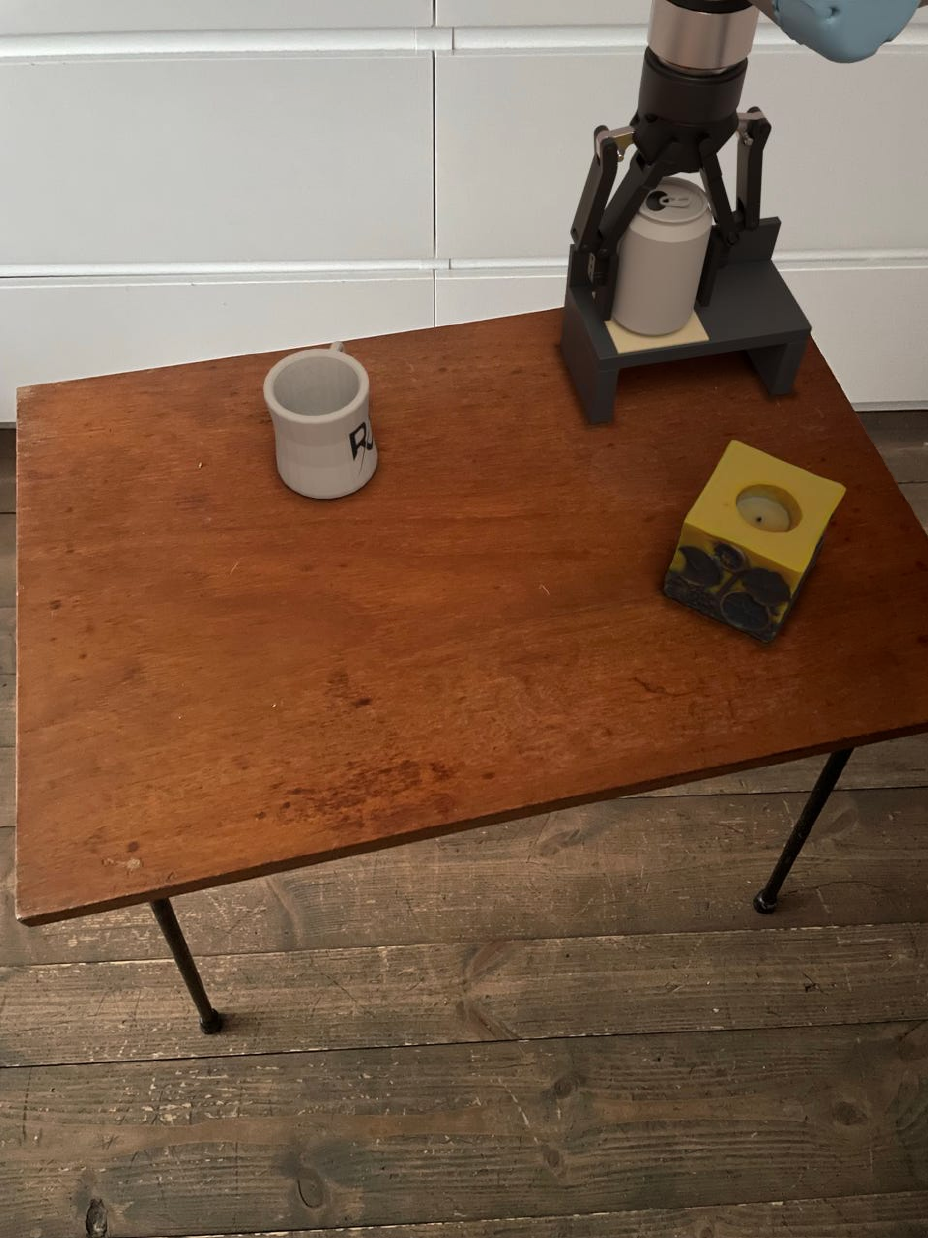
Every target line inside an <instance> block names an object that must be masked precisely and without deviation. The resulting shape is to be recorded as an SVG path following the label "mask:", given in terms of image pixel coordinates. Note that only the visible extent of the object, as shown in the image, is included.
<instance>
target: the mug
mask: <svg viewBox="0 0 928 1238" xmlns="http://www.w3.org/2000/svg"><path fill="white" fill-rule="evenodd" d="M345 347H346V346H345V344H344V343H343V342H342V341H340V340H335V341H333V342H332V343H331V345H330V347H329V348H313V349H304V350H301V351H300V350H299V351H297V352H294V353H291V354H288V355H287V356H286V357H284V358H282V359H280V360H279V361H278V362H276V364H275V365H274V366H272V367H271V368H270V369H269V371H268V373H267V375H266V376H265V378H264V381H263V384H262V385H263V386H262V392H263V399H264V402H265V404H266V407H267V410H268V413H269V415H270V419H271V421H272V424H273V429H274V435H275V457H276V466H277V472H278V474H279V476H280V477H281V479H282V481H283V482H284V483H283V484H285V485H286V486H288V488H290V489H291V490H292V491H293V492H296V493H297V494H299V495H301V496H304V497H308V498H313V499H318V500H319V499H320V500H323V499H324V500H331V499H336V498H342V497H344V496H347V495H350V494H352V493H355V492H356V491H358V490H360V489H361V488H362V487H364V486H365V485H366V484H367V483H368V482H369V481H370V479H372V477H373V475H374V473H375V471H376V469H377V463H378V456H379V455H378V451H377V447H376V442H375V438H374V437H375V436H374V434H373V430H372V424H371V417H370V410H369V407H370V388H371V387H370V385H371V382H370V379H369V375H368V374H369V373H368V372H367V370H366V369H365V367H364V365H363V364H362V363H361V362H360V361H358V360H357V359H356V358H355V357H353V356H351V355H349V354H347V353H346V348H345Z"/></svg>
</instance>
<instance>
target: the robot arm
mask: <svg viewBox="0 0 928 1238" xmlns="http://www.w3.org/2000/svg"><path fill="white" fill-rule="evenodd" d="M650 6H651V8H650V13H649V20H648V28H647V33H646V42H647V46H646V47H645V50H644V53H643V59H642V60H643V62H642V66H641V75H640V80H639V81H640V82H639V88H638V97H637V107H636V111H635V113H634V115H633V117H631V120H630V121H629V124H628V125H627V126H623V127H622V126H621V127H619V128H614V129H611V130H610V129H609V128H608V126H607V125H605V124H600V125H598V126H597V127H596V128H594V131H593V157H592V160H591V163H590V167H589V168H588V169H589V170H588V173H587V175H586V179H585V182H584V186H583V189H582V192H581V195H580V198H579V202H578V205H577V208H576V211H575V214H574V218H573V221H572V223H571V224H572V225H571V228H570V231H569V234H570V237H571V239H572V241H573V244H575V246H576V248H577V250H578V252H579V254H581V255H586V254H588V253H590V258H589V267H588V275H589V277H590V279H591V282H592V284H593V286H594V287H596V289H595V297H594V304H595V306H596V308H597V311H598V313H599V315H600V317H601V320H602V322H603V321H610V320H611V314H612V307H613V300H614V293H615V286H616V279H617V272H618V265H619V259H620V258H619V256H618V254H617V252H616V250H615V247H616V245H617V243H618V242H619V240H620V239H621V237H622V235H623V234H624V232H625V231H626V229H627V227H628V226H629V224H630V223H631V221H632V219H633V218H634V216H635V215H636V213H637V211H638V210H639V208H640V206H641V205H642V203H643V202H644V200H645V198H646V197H647V195H648V194H649V192H650V191H651V190H655V189H656V188H657V186H658V184H659V183H660V181H661V180H662V178H663V177H667V176H669V177H673V176H675V175H677V174H680V173H683V174H690V175H691V174H697V173H699V176H700V179H701V183H702V186H703V190H704V191H705V193H706V195H707V197H708V206H709V208H710V210H711V212H712V214H713V216H712V220H713V222H714V224H712V226H711V231H710V235H709V240H708V244H707V249H706V253H705V258H704V262H703V267H702V271H701V276H700V281H699V285H698V290H697V294H696V299H697V301H698V303H699V305H700V307H707V306H709V303H710V299H711V295H712V291H713V287H714V282H715V278H716V274H717V270H718V269H724V268H725V266H726V265H727V263H728V259H729V255H730V251H731V247H733V246H736V245H737V244H738V243H739V242H740V240H741V237H740V235H739V233H740V232H742V231H745V230H747V231H748V232H752V231H755V230H756V229H757V228H758V227H759V224H760V219H761V201H762V181H763V159H764V149H765V147H766V145H767V142H768V140H769V137H770V134H771V132H772V127H773V126H772V124H771V123H770V121H769V120H768V119H767V117H766V115H765V114H764V112H763V111H762V110H761V108H760V107H759V106H756V105H754V106H751V107H749V108H748V109H747V111H745V112H738V111H737V109H738V108H739V105H740V102H741V99H742V93H743V89H744V84H745V79H746V76H747V71H748V66H749V58H748V56H749V55H750V54H751V52H752V49H753V44H754V41H755V36H756V31H757V27H758V26H757V25H758V21H759V17H760V12H761V13H762V14H763V15H764V16H766V17H767V19H769V20H770V21H772V22H773V23H774V25H776V26H777V27H779V28H780V30H781V31H782V32H783V33H784V34H785V35H786V36H787V37H788V38H789V39H790V40H791V41H795V43H797V45H799V46H803V45H804V46H805V47H807V48H808V49H809V50H812V51H813V52H815V53H816V54H818V55H819V56H821V57H823V58H825V59H826V60H828V61H830V62H833V63H836V64H854V63H858V62H862V61H865V60H867V59H869V58H871V57H873V56H874V55H876V54H877V52H878V51H879V49H880V47H881V46H883V45H884V44H886V43H891V42H893V41H894V40H895V39H896V38H897V37H899V36H900V34H901V33H902V31H903V30H904V29H905V28H906V27H907V25H908V24H910V23H909V22H910V21H912V18H913V17H914V15H915V13H916V11H917V10H918V9H921V8H923V7H926V6H928V0H651V5H650ZM734 134H735V137H736V139H737V142H736V143H737V144H736V177H735V179H736V181H735V184H736V185H735V209H734V210H732V207H731V204H730V200H729V197H728V192H727V190H726V186H725V183H724V178H723V171H722V168H721V165H720V160H719V157H718V153H719V152H720V151H721V149H722V148H723V147H724V146H725V145H726V144H727V143H728V142H729V140H730V139H731V138H732V137H733V136H734ZM631 145H634V146H635V148H636V149H635V152H634V153H633V155H632V157H630V160H629V168H628V170H627V172H626V174H625V175H624V177H623V178H622V180H621V182H620V183H619V185H618V186H617V189H616V190H615V192H614V193H613V195H612V197H611V193H612V190H613V187H614V184H615V181H616V179H617V178H616V177H617V174H618V169H619V163H621V162H623V161H624V159H625V154H626V151H627V149H628V148H629V147H630V146H631ZM610 197H611V199H610V201H609V198H610ZM608 201H609V202H608ZM713 225H716V226H715V228H714V226H713Z"/></svg>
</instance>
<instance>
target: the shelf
mask: <svg viewBox="0 0 928 1238" xmlns="http://www.w3.org/2000/svg"><path fill="white" fill-rule="evenodd" d="M712 225H713V226H714V228H715V226H716V224H712ZM781 227H782V221H781V219H780V217H779V216H770V217H760V224H759V227H758V228H757V229H756V230H755V231H752V232H748V231H747V230H745V231H742V232H740V233H739V235H740V237H741V240H740V242H739V243H738V244H737V245H736V246H733V247H731V251H730V255H729V259H728V263H727V265H726V266H725V268H724V269H718V270H717V274H716V278H715V282H714V287H713V291H712V295H711V299H710V303H709V306H707V307H700V305H699V303H698V301H697V299H695V303H694V308H693V312H692V316H691V317H690V319H689V321H688V322H687V323H686V324H685V325H684V326H682V327H681V328H680V329H678V330H675V331H672V332H670V333H667V334H664V335H659V336H647V335H641V334H637V333H634V332H632V331H630V330H629V329H627V328H625V327H624V326H623V325H622V324H620V323H619V322H618V321H617V320H616V319H615V318H614V316H613V315H612V314H611V320H610V321H603V322H602V320H601V317H600V315H599V313H598V311H597V308H596V306H595V304H594V297H595V289H596V287H594V286H593V284H592V282H591V279H590V277H589V275H588V267H589V258H590V253H588V254H586V255H581V254H579V252H578V250H577V248H576V246H575V244H574V243H570V244H569V251H568V253H569V255H568V262H567V272H566V283H565V284H566V285H565V294H564V303H563V314H562V323H561V324H562V325H561V334H560V345H559V349H560V351H561V353H562V356H563V358H564V361H565V363H566V366H567V368H568V371H569V374H570V377H571V379H572V382H573V384H574V387H575V389H576V391H577V393H578V396H579V399H580V401H581V403H582V406H583V409H584V411H585V413H586V417H587V419H588V421H589V424H590V425H596V424H602V423H609V422H612V416H613V411H614V410H613V409H614V403H615V397H616V391H617V385H618V379H619V373H620V369H625V368H633V367H638V366H639V367H640V366H645V365H646V366H647V365H652V364H657V363H658V364H660V363H665V362H672V361H678V360H679V361H680V360H685V359H692V358H698V357H704V356H711V355H712V356H713V355H719V354H725V353H731V352H738V351H745V352H746V353H747V355H748V357H749V358H750V360H751V362H752V364H753V366H754V368H755V369H756V372H757V373H758V375H759V377H760V379H761V381H762V383H763V384H764V386H765V388H766V390H767V391H768V394H769V395H770V396H771V397H775V396H779V395H780V396H782V395H786V394H791V391H792V389H793V386H794V383H795V380H796V378H797V374H798V371H799V368H800V366H801V362H802V360H803V357H804V354H805V351H806V348H807V345H808V342H809V339H810V336H811V333H812V330H813V326H812V324H811V322H810V321H809V319H808V317H807V316H806V314H805V313H804V311H803V309H802V307H801V306H800V305H799V303H798V301H797V300H796V297H795V296H794V295H793V293H792V291H791V289H790V287H788V284H787V283H786V281H785V279H784V278H783V276H782V275H781V273H780V271H779V270H778V268H777V266H776V265H775V263H774V261H773V259H772V258H773V255H774V251H775V247H776V245H777V241H778V237H779V234H780V230H781ZM617 246H618V243H617V245H616V247H615V250H616V252H617Z"/></svg>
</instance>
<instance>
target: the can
mask: <svg viewBox="0 0 928 1238" xmlns="http://www.w3.org/2000/svg"><path fill="white" fill-rule="evenodd" d="M712 225H713V214H712V212H711V209H710V206H709V202H708V197H707V195H706V193H705V190H704V189H703V188H701V187H700V186H699V185H698V184H697V183H694V182H693V181H691V180H689V179H685V178H681V177H678V176H667V177H663V178H662V180H661V181H660V183H659V184H658V186H657V188H656V189H655V190H651V191H650V192H649V194H648V195H647V197H646V198H645V200H644V202H643V203H642V205H641V206H640V208H639V210H638V211H637V213H636V215H635V216H634V218H633V219H632V221H631V223H630V224H629V226H628V227H627V229H626V231H625V232H624V234H623V235H622V237H621V239H620V240H619V242H618V246H617V254H618V256H619V258H620V259H619V265H618V272H617V279H616V286H615V293H614V300H613V307H612V315H613V316H614V318H615V319H616V320H617V321H618V322H619V323H620V324H622V325H623V326H624V327H625V328H627V329H629V330H630V331H632V332H634V333H637V334H641V335H647V336H659V335H664V334H667V333H670V332H672V331H675V330H678V329H680V328H681V327H682V326H684V325H685V324H686V323H687V322H688V321H689V319H690V317H691V316H692V312H693V308H694V303H695V299H696V294H697V290H698V285H699V281H700V276H701V271H702V267H703V262H704V258H705V253H706V249H707V244H708V240H709V235H710V231H711V226H712Z"/></svg>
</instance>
